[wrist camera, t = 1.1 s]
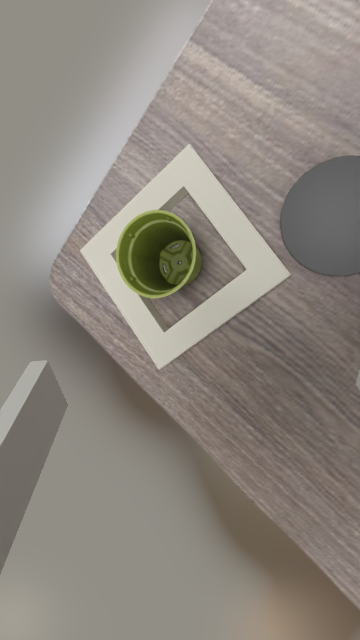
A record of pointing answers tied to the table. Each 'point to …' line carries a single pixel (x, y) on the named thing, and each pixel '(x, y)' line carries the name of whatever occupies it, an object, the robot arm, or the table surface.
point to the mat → (325, 218)
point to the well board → (231, 224)
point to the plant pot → (157, 254)
